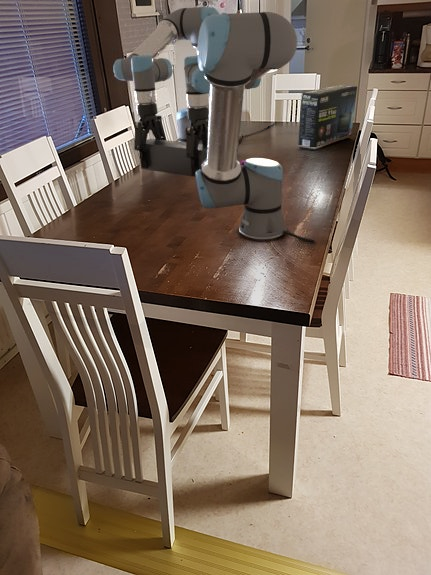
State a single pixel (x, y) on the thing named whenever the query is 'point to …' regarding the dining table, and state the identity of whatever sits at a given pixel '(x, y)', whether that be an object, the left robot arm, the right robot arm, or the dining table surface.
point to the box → (172, 156)
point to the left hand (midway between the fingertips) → (152, 164)
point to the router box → (326, 115)
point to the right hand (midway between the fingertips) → (201, 172)
